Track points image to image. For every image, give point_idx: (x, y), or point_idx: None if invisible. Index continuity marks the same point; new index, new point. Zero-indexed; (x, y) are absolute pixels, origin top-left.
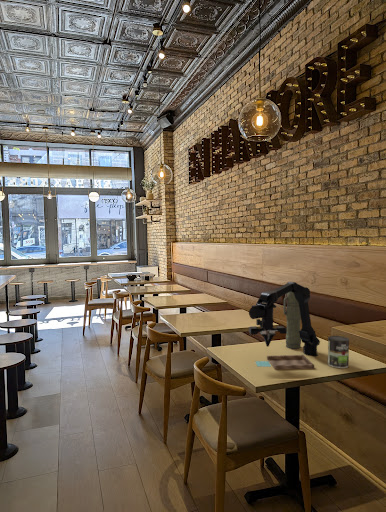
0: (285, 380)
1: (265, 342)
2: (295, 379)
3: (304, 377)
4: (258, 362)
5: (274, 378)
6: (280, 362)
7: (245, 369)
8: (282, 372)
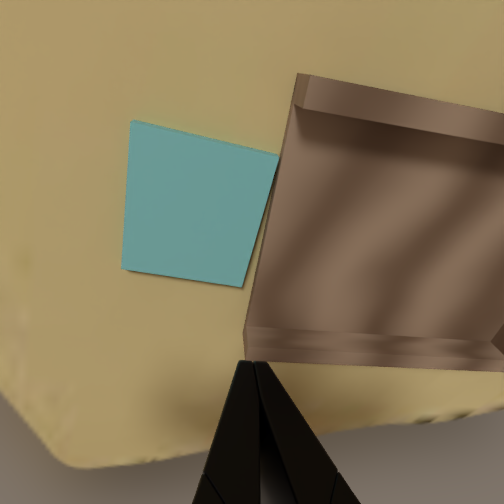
0: None
1: (218, 427)
2: None
3: (351, 419)
4: (158, 172)
5: (189, 418)
6: (372, 215)
7: (7, 284)
8: None
